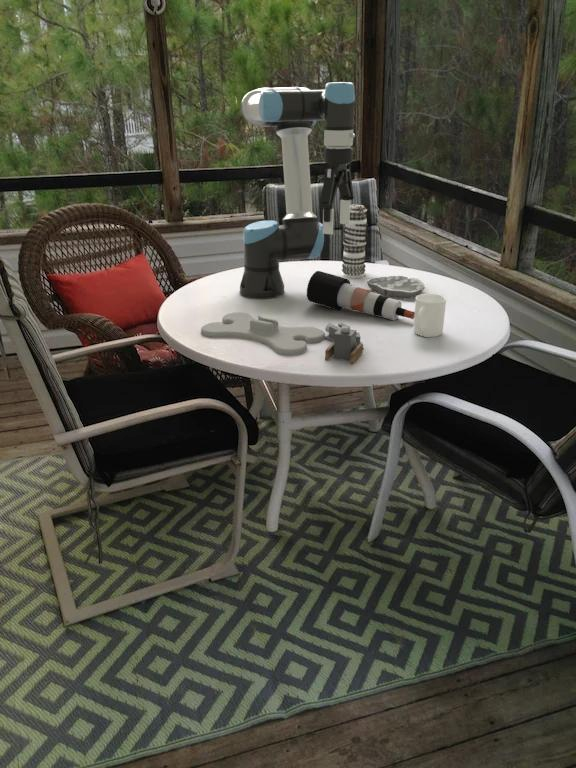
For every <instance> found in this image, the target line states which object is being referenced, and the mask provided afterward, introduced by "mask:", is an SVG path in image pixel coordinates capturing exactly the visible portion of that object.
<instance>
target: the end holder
mask: <svg viewBox="0 0 576 768" xmlns="http://www.w3.org/2000/svg"><path fill="white" fill-rule="evenodd" d="M363 348H364V343H363V342H362V343H360V344H359V345H358V346H357V347H356V348H355V349H354V350H353V352H352V353H351V354H350V361H349V365H354V364H355V363H356V362H357V361H358V359H359V358H360V357H361V356H362V355H363V353H364V352H363V351H364V350H363ZM324 353H325V354H324V355H325V356H324V357H325V359H324V360H325V361H329V360H330V359H331V358H332V357H334V342H331V343H330V345H329V346H328V347H326V349H325V352H324Z"/></svg>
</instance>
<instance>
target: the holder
mask: <svg viewBox="0 0 576 768" xmlns="http://www.w3.org/2000/svg"><path fill="white" fill-rule="evenodd" d="M257 317H258V319H255V318H254V317H253V316H252V315H251V314H249V313H247V312H230V313H227V314H225V315H223V317H222V318H221V319H222V321H216V322H214V321H213V322H210V323H205V324H204V325H202V327H201V328H200V331H201V335H202V336H204V337H207V338H237V339H246V340H252V341H256V342H259V343H262V344H264V345H266V346H268V347H269V348H271V349H272V350H273V351H274V352H275V353H277V354H279V355H285V356H295V355H301V354H304V353H305V352H307V350H308V344H315V343H316V344H317V343H319V342H322V341H324V340H325V336H326V334H325V333H326V332H325V331H324V330H323V329H321V328H318V327H312V326H305V327H301V326H300V327H298V326H297V327H294V326H293V327H292V326H282V325H281V326H280V325H279V321H278V320H277V319H275V318H270V317H265V316H261V315H258V316H257Z"/></svg>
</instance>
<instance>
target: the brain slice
mask: <svg viewBox="0 0 576 768" xmlns="http://www.w3.org/2000/svg"><path fill="white" fill-rule="evenodd" d="M366 284H367V287H368V288H369V289H370V291H372V292H373V293H377V294H380V295H381V294H382V296H386V297H388V296H389V298H396V297H397V299H404V298H405V299H404V300H406V299H407V300H409V299H412V298H413V297H417V296H418V295H421V293H422V292H423V290H425V289H426V287H425V284H424V282H422V280H421V279H418V278H414V277H411V278H410V277H409V278H408V277H407V276H403V275H396V276H395V275H390V276H382V277H375V278H371V279H369V280H367V282H366Z"/></svg>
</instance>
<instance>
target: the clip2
mask: <svg viewBox="0 0 576 768" xmlns="http://www.w3.org/2000/svg"><path fill="white" fill-rule="evenodd" d="M360 343H363V341H361V333H360V332H359V331H356V347H357V346H358V345H359V344H360ZM363 351H364V347H363Z"/></svg>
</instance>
